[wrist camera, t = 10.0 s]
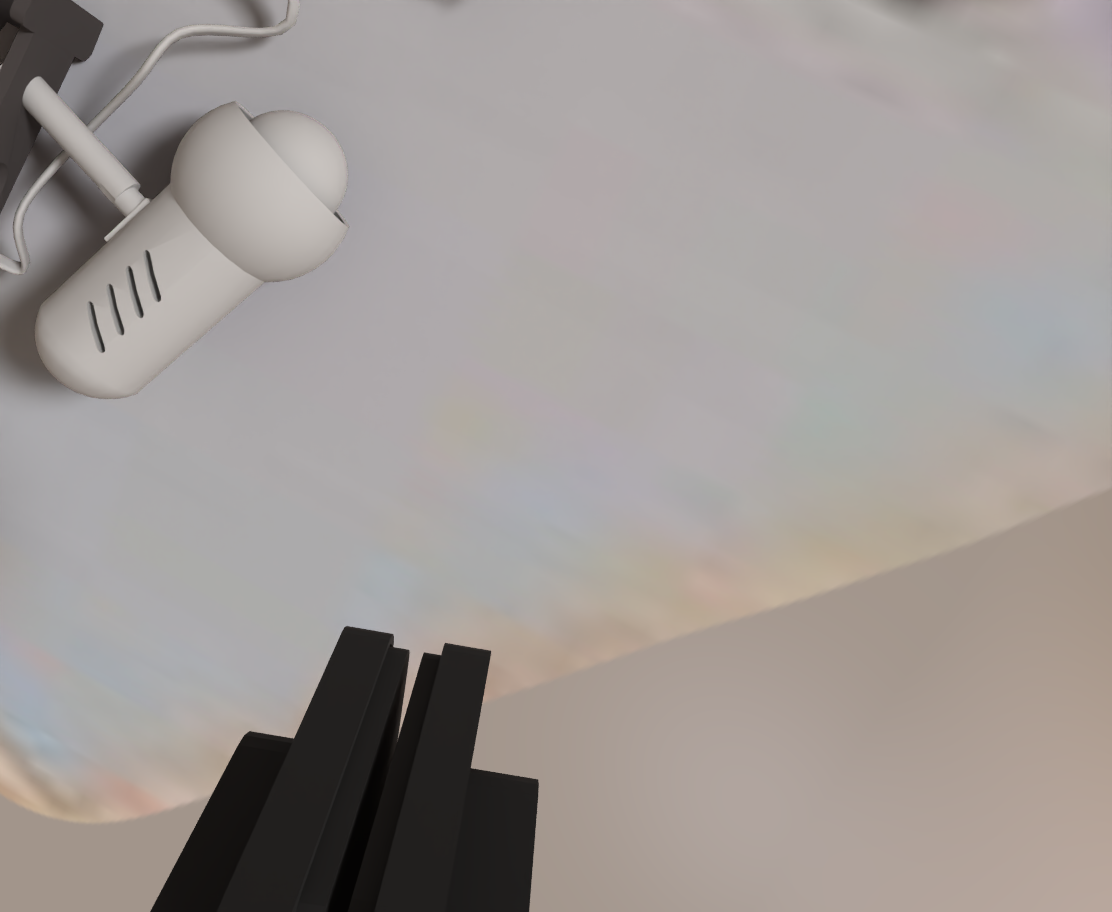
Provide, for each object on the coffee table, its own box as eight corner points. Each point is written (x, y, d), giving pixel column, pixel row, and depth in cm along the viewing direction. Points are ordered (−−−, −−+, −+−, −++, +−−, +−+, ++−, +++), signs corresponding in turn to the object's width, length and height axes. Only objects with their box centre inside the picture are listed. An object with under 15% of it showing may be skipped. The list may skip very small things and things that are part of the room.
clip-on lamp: (306, -256, 29) (-129, 149, 30) (255, -413, 22) (-295, 109, 23) (563, 63, 31) (148, 434, 31) (582, 2, 24) (64, 467, 25)
